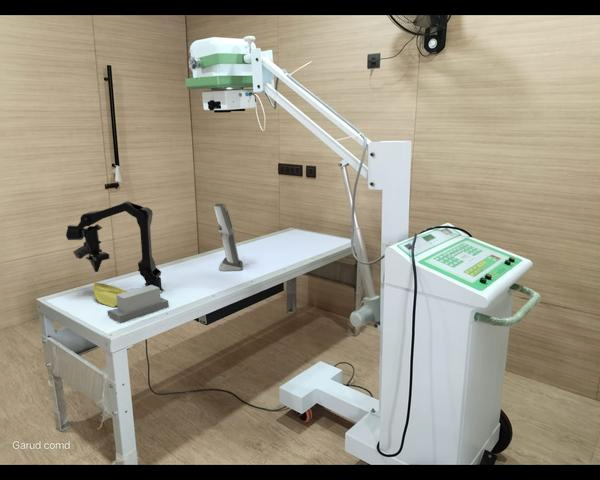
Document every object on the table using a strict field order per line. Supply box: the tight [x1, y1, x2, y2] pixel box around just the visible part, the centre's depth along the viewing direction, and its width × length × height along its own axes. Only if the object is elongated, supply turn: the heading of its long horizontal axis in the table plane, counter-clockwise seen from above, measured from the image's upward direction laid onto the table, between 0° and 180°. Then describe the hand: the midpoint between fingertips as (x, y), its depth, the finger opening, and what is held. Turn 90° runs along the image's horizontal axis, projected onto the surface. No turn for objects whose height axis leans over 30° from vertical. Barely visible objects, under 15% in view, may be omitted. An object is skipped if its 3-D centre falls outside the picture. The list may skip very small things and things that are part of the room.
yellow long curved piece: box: [92, 282, 128, 308], centre depth 216 cm, size 20×7×10 cm
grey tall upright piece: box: [213, 203, 244, 272], centre depth 255 cm, size 12×13×35 cm
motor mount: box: [106, 285, 170, 324], centre depth 200 cm, size 22×12×9 cm, turn 137°
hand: (96, 271), depth 223 cm, fingers closed
